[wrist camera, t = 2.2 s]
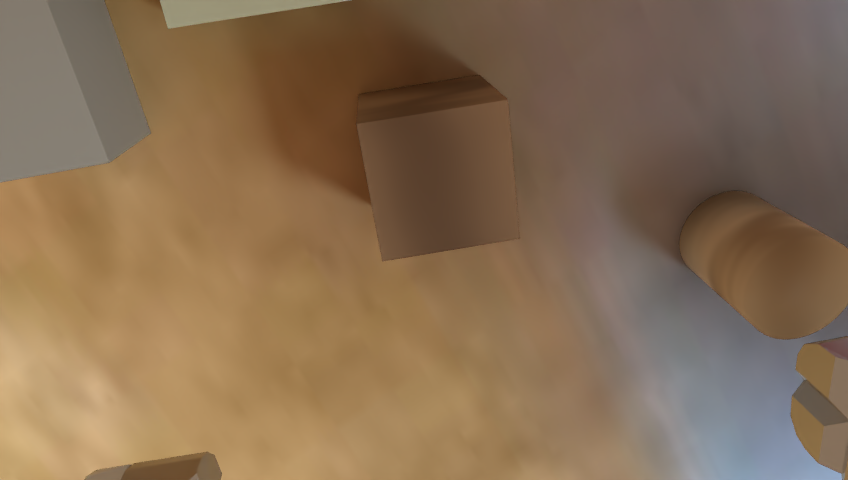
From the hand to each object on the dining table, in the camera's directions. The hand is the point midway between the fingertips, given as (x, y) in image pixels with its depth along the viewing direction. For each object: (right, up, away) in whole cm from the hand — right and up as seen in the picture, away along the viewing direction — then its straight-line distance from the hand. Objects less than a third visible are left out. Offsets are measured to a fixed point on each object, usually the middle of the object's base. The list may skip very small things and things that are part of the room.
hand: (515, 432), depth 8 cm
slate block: (-14, +9, +13) cm, 21 cm away
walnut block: (-1, +6, +15) cm, 16 cm away
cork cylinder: (+12, +3, +17) cm, 21 cm away
